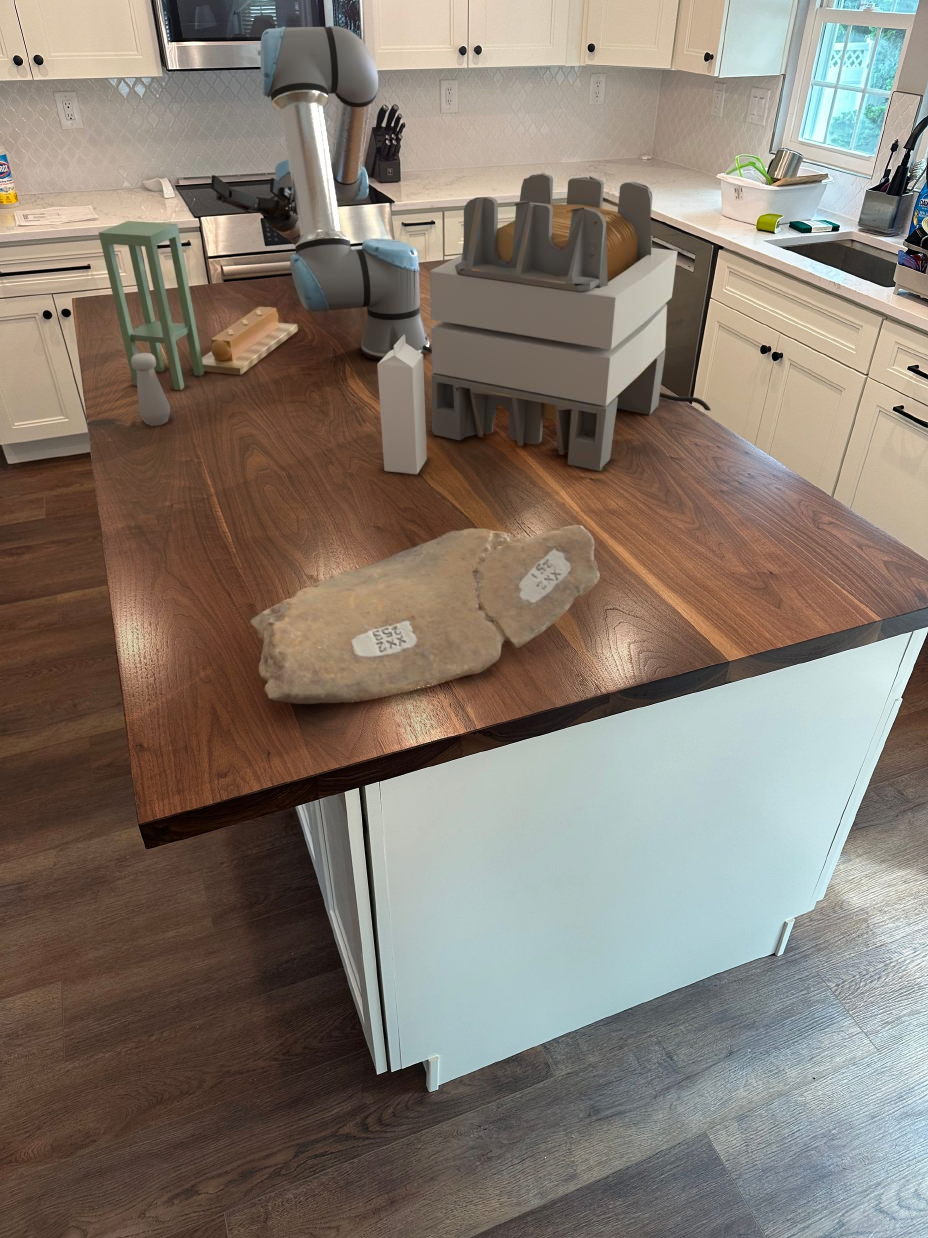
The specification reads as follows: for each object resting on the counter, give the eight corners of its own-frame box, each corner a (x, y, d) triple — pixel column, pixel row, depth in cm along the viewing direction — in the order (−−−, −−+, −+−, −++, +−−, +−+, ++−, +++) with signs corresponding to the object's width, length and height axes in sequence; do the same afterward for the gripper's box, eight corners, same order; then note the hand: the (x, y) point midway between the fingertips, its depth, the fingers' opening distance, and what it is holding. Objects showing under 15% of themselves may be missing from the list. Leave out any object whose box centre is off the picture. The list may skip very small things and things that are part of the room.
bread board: (240, 374, 192) (239, 368, 191) (194, 370, 194) (193, 363, 193) (298, 330, 215) (297, 324, 214) (256, 326, 217) (255, 320, 217)
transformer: (661, 406, 177) (690, 178, 153) (600, 473, 153) (624, 217, 129) (506, 376, 190) (511, 163, 166) (428, 434, 166) (421, 196, 142)
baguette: (228, 364, 192) (224, 342, 190) (209, 362, 193) (205, 341, 191) (282, 323, 214) (280, 303, 212) (265, 322, 215) (263, 302, 213)
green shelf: (180, 390, 185) (150, 235, 167) (133, 385, 187) (98, 232, 170) (204, 373, 193) (177, 223, 175) (158, 368, 195) (127, 220, 177)
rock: (229, 622, 121) (285, 752, 102) (211, 558, 114) (268, 685, 96) (524, 530, 135) (621, 630, 116) (523, 468, 128) (626, 563, 109)
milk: (384, 471, 154) (374, 344, 142) (394, 456, 159) (386, 332, 146) (418, 474, 153) (411, 347, 140) (427, 459, 158) (422, 334, 145)
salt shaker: (178, 418, 173) (165, 352, 166) (159, 429, 169) (144, 362, 161) (155, 413, 175) (140, 347, 168) (134, 424, 171) (118, 357, 163)
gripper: (236, 196, 213) (190, 161, 192) (335, 201, 208) (298, 166, 187) (233, 229, 214) (187, 198, 193) (332, 235, 209) (295, 204, 188)
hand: (242, 182), depth 190 cm, fingers open, 13 cm apart
